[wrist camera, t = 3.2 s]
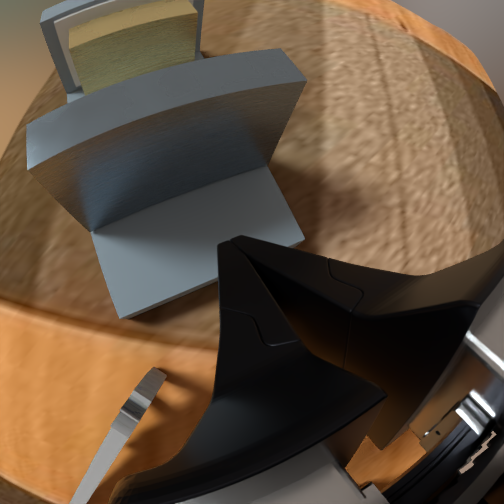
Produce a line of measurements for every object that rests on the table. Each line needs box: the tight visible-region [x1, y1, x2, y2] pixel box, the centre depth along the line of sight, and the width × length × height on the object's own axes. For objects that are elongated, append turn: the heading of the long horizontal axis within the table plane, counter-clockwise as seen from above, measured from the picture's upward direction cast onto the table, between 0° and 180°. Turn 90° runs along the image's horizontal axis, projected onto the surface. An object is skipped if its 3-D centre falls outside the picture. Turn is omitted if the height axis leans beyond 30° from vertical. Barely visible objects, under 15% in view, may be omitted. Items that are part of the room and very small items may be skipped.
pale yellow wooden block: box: [69, 0, 198, 96], centre depth 15 cm, size 3×8×7 cm, turn 115°
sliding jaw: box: [27, 48, 307, 232], centre depth 13 cm, size 3×12×8 cm, turn 115°
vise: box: [40, 0, 305, 319], centre depth 15 cm, size 22×12×10 cm, turn 25°
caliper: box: [69, 367, 167, 504], centre depth 11 cm, size 20×1×6 cm, turn 148°
